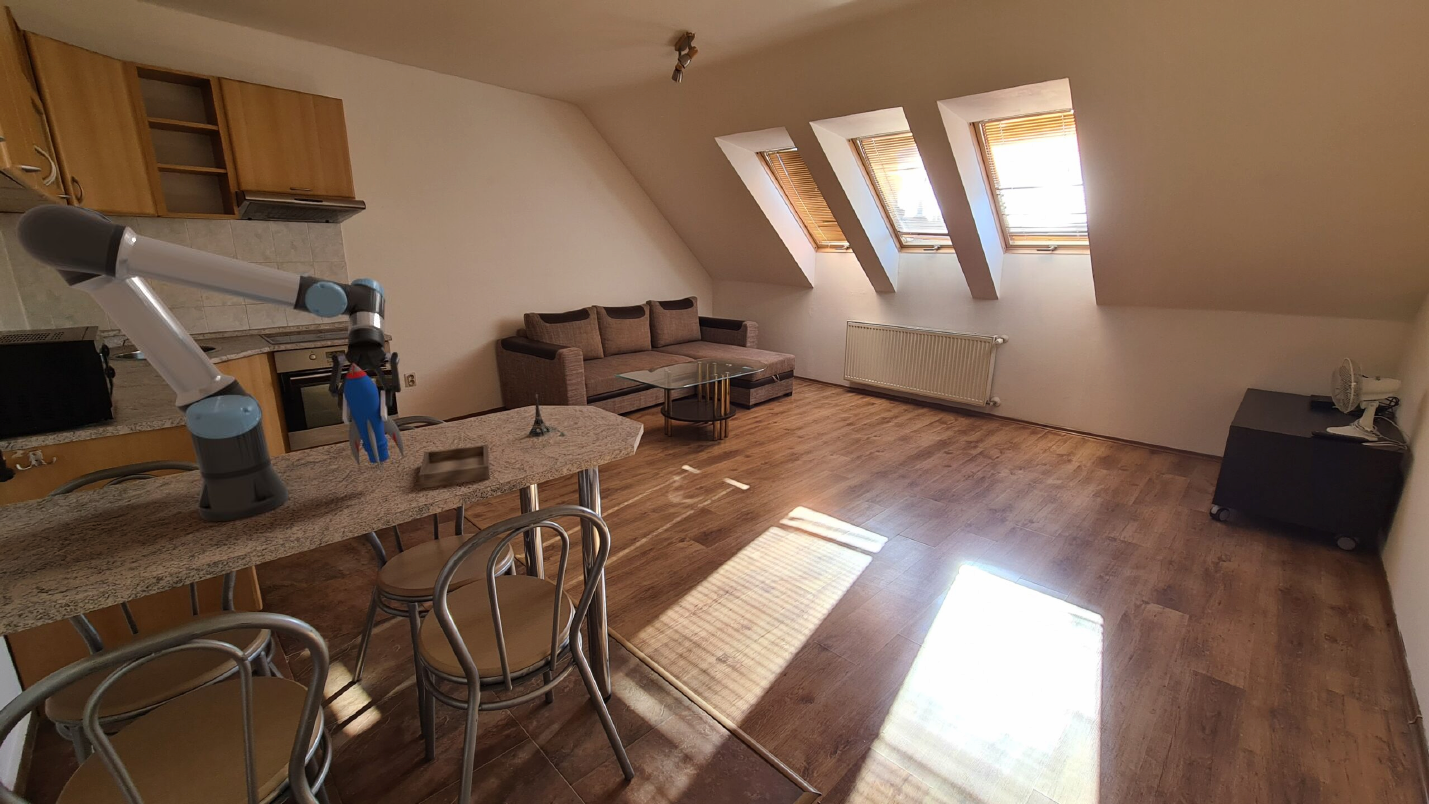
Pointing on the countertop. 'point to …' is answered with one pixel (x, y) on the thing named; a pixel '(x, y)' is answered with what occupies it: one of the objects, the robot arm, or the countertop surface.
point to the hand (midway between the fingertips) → (365, 419)
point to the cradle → (454, 466)
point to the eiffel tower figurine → (540, 425)
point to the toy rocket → (368, 418)
